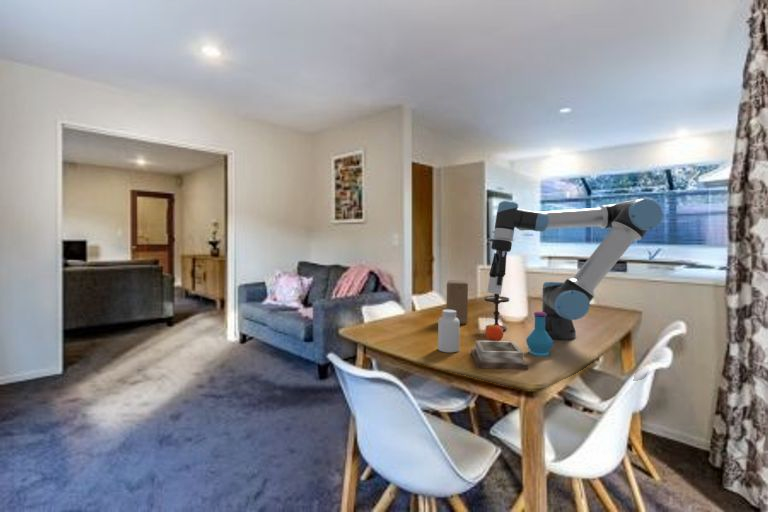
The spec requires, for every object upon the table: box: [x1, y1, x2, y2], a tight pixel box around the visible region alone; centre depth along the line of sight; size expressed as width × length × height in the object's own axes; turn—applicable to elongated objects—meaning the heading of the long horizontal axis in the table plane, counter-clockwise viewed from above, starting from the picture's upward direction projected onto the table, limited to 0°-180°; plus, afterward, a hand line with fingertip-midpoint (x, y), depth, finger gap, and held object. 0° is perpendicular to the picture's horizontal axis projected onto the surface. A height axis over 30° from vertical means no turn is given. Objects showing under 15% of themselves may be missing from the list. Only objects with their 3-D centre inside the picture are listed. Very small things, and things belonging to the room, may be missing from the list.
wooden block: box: [446, 279, 469, 325], centre depth 194 cm, size 10×10×20 cm
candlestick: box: [484, 294, 510, 333], centre depth 178 cm, size 11×11×35 cm
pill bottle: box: [437, 308, 461, 354], centre depth 148 cm, size 8×8×15 cm
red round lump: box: [485, 323, 504, 341], centre depth 160 cm, size 8×7×7 cm
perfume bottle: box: [525, 311, 554, 357], centre depth 144 cm, size 9×9×15 cm
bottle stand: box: [470, 340, 529, 370], centre depth 136 cm, size 16×16×5 cm
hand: (493, 293), depth 155 cm, fingers open, 13 cm apart
